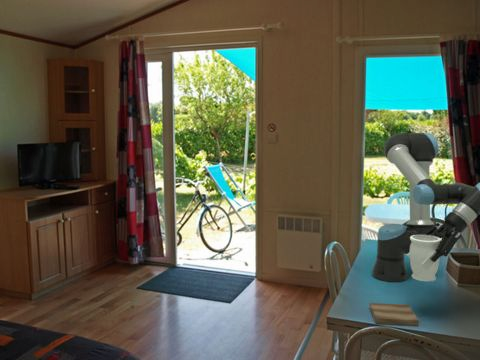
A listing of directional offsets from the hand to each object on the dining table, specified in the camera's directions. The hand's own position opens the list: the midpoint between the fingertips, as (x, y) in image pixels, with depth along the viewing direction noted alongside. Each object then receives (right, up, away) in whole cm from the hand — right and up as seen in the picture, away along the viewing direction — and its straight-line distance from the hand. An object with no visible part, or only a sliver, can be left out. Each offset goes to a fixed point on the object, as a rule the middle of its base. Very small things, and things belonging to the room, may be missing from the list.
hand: (416, 262), depth 169 cm
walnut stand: (-9, -19, -2) cm, 21 cm away
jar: (+3, -6, +1) cm, 7 cm away
